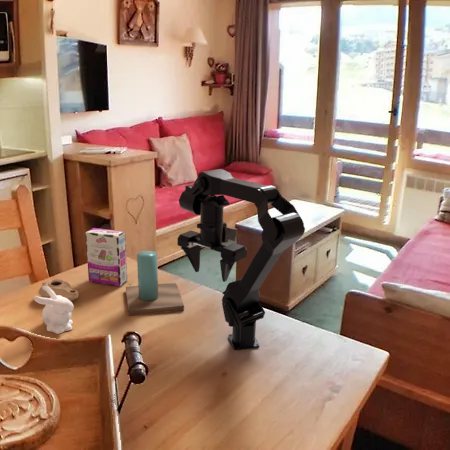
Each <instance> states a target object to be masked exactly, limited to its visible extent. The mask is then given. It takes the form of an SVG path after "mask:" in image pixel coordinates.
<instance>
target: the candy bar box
mask: <svg viewBox="0 0 450 450" xmlns="http://www.w3.org/2000/svg"><path fill="white" fill-rule="evenodd" d="M84 234H85V244H86V259H87V276H88V282H89V283H94V284H95V283H96V284H101V285H106V286H108V285H109V286H114V287H122V286H123V285H124V284H125V283H127V281H128V266H127V265H128V264H127V245H126V231H123V230H122V231H121V230H113V229H105V228H97V227H92V228H90V229H88V230H87V231H86V232H85V233H84Z"/></svg>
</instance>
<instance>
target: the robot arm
mask: <svg viewBox="0 0 450 450" xmlns="http://www.w3.org/2000/svg"><path fill="white" fill-rule="evenodd" d="M225 196H228V197H231V198H235V199H238V200H241V201H245V202H249V203H251V204H254V205H255V207H256V209H257V210H256V212H257V213H256V214H257V223H258V224H259V226H260V228H261V229H262V232H261V236H260V237H261V240H262V244H260V245H261V246H260V247H259V248H258V250H257V252H256V254H255V255H254V257H253V258H252V260H251V262H250V264H249V265H248V267H247V269H246V271H245V272H244V274H243V276H242V277H241V278H240V279H237V280H235V281H234V280H233V281H231V282H229V283H228V284H227V285H226V288H225V289H224V291H223V292H221V293H222V298H221V305H222V309H223V314H224V320H225V322H226V323H227V324H228V326H229V327H231V328H232V333H230V334H228V335H227V336H228V339H229V341H230V344H231V347H232V348H233V350H245V349H253V348H255V349H256V348H259V347H260V343H259V341H258V339H257V337H256V333H257V330H256V326H257V321H259V320H262V319H264V318H265V314H266V312H265V310H264V307H263V305H262V303H261V301H260V297H261V295H260V290H259V289H260V288H261V286H262V285H263V283H264V282H265V281H266V278H268V276H269V274H270V273H271V271H272V270H273V268H274V266H275V265H276V263H277V262H278V260H279V258H280V256H281V255H282V254H283V252H284V251H286V250H287V249H288V248H290V247H292V246H293V245H294V244H296V243H297V241H299V239H301V238H302V236H304V234H305V231H306V228H305V224H304V220H303V218H302V216H300V214H299V212H298V211H297V208H296V207H295V205H293V203H291V202H290V201H288V199H286V198H285V197H283V196H282V194H281V193H280V190H278V188H277V187H276V186H274V185H266V184H262V183H259V182H253V181H249V180H245V179H241V178H236V177H234V176H232V173H231V172H229V171H227V170H224V169H223V168H218V169H210V170H205V171H204V170H203V171H200V172H199V173H198V175H197V177H196V180H195V181H194V182H193V184H187V185H185V190H183V192H182V193H181V194H180V196H179V199H178V204H179V206H180V208H181V209H182V210H185V211H188V212H190V213H192V214H194V215H197V216H199V217H200V219H199V220H200V222H199V223H196V229H199V231H194V230H188V231H186V232H182V233H180V234H179V235H178V237H177V246H179V247H180V249H181V250H182V251H183V253H184V254H185V255H186V257H187V259H188V260H189V263H190V265H191V266H192V268H193V270H194V272H195V273H199V272H200V267H201V266H200V265H201V250H202V248H206V249H209V250H212V251H215V252H219V253H220V258H221V259H220V260H219V264H220V265H219V266H220V274H221V278H222V279H221V280H222V282H223V283H226V282H227V280H228V279H229V276H230V274H231V271H232V269H233V267H234V265H235V264H236V263H237V262H239V261H241V260H242V259H245V258H247V257H248V249H247V247H246V246H245V245H241V244H238V243H234V242H235V241H236V238H237V234H238V229H237V228H234V227H230V226H227V222H225V221H224V207H225V206H230V202H229V200H228V199H227V198H226V197H225ZM269 205H271V206H272V207H273V208H274V209H275V210H277V211H278V212H279V213H280V214H281V215H277V216H273V217H272V216H271V215H270V213H269V212H270V211H269ZM229 240H230V241H233V242H232V243H231V244H228V245H225V244H226V243H228V242H229ZM223 243H225V244H223Z"/></svg>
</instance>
